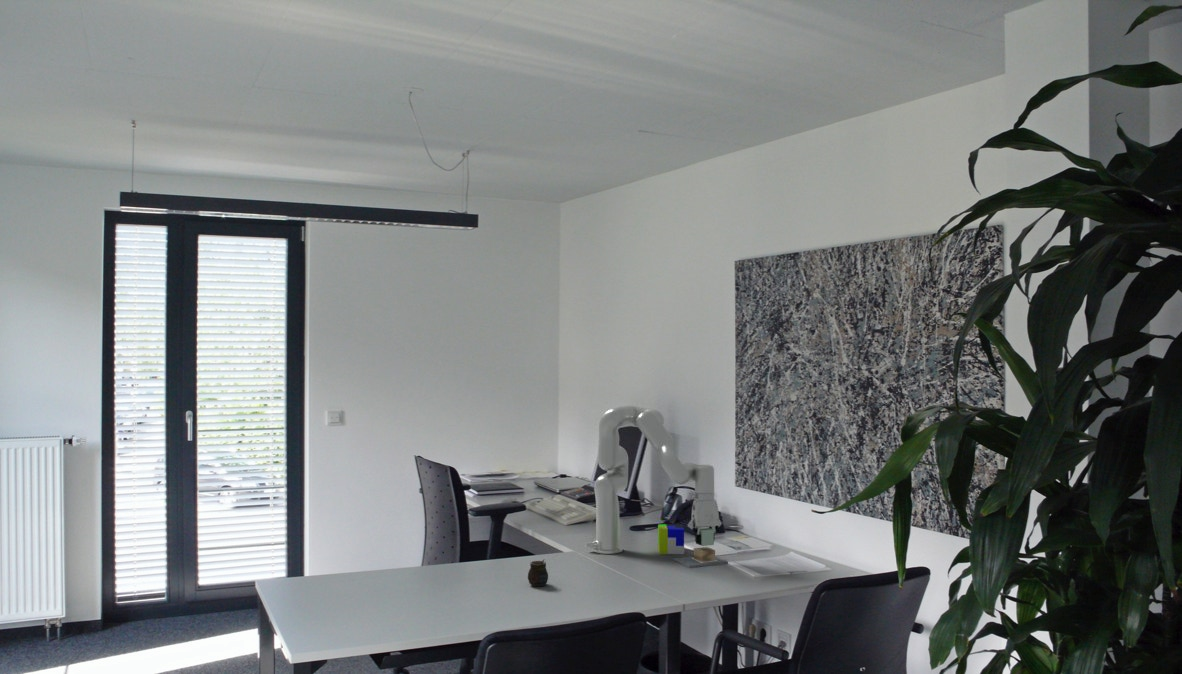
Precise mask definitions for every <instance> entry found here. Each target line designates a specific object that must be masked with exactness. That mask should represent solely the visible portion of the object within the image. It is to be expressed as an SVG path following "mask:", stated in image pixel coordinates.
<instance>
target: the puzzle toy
mask: <svg viewBox="0 0 1182 674" xmlns="http://www.w3.org/2000/svg"><path fill="white" fill-rule="evenodd" d="M657 550H658V553H659V555H684V554H685V528H684V526H683V524H670V523H668V524H667V523H665V524H663V523H662V524H657Z"/></svg>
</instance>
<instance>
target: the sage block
mask: <svg viewBox="0 0 1182 674" xmlns="http://www.w3.org/2000/svg"><path fill="white" fill-rule="evenodd" d="M700 534H701V545H700V546H702V547H709V546H715V540H714V537H715V533H714V529H711V528H709V527H701V531H700Z"/></svg>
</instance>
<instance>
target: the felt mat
mask: <svg viewBox="0 0 1182 674" xmlns="http://www.w3.org/2000/svg"><path fill="white" fill-rule="evenodd" d="M674 561H675V562H677V563H679V564H680V565H683V566H685V567H687V568H689V569H690V568H691V569H692V568H699V567H700V568H702V567H709V566H710V567H711V566H718V565H719V566H720V565H728V564H729V561H728V560H726V559H723V558H721V557H719V556H716V555H715V561H706V562H701V561H699V560H696V559H694V556H687V557H685V556H684V557H679V558H678V557H677V558H674Z"/></svg>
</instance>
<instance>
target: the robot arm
mask: <svg viewBox="0 0 1182 674" xmlns="http://www.w3.org/2000/svg"><path fill="white" fill-rule="evenodd" d="M664 423H665V418H664V415H663V413H661V412H660V411H659V410H657V409H653V408H646V407H645V408H644V407H640V406H635V405H623V406H616V407H613V408H610V409H609V410H606V411H605V412H604V413H603V414H602V415H601V417H600V419H599V423H598V446H597V447H598V448H597V450H598V451H597V452H598V453H597V463H598V466H599V468H600V469H602V470H603V471H606V473H604V474H601V475H599V476H598V477H597V478H596V480H595V481H594V487H593V490H594V496H595V497H594V498H595V512H596V513H595V514H596V515H595V520H596V522H595V523H596V524H595V526H596V527H595V530H596V531H595V538H594V539H593V540H592V541H591V542H590V541H589V542H588V541H586V542H584V546H585V548H592V552H594V553H597V554H602V555H612V554H619V553H622V552H624V547H623V546H621V545H620V503H619V497H618V495H620V494H623V492H624V491H625V490H626V489H627V487H628V483H629V456H628V452H627V450H626V449H625V448H624V447H623V446H621V445H620V434H619V429H620V428H626V427H635V428H638V429H639V431H640V432H641V433H642V434H643V435H644V437H645V438H646V439H647V441H648V442H649V444H651V446H652V448H653V450H655V453H656V456H657V458H658V460H659V463H660V465H661V467H662V469H663V470H664V471H665V473H666V474H667V476H668V477H669V478H670V480H671V481H672V482H674V483H675V484H677V485H681V486H682V485H686V484H689V483H691V482H694V494H692V495H691V498H693V499H694V500H693V502H692V507H691V520H690V521H689V522H688V524H687V528H689V529H690V530H691V531H692V532H693V534H694V535H695V536H694V540H695V544H696V545H699V546H701V534H700V531H701V528H703V527H708V528H711V529H714V534H716V532H717V530H718V529H719V528H720V527H721V525H722V524H723V523H722V521H721V520H720V516H719V507H718V501H717V499H715V468H714V466H713V465H710V464H696V463H693V462H687V463H682V462H681V460H680V459H679V457H678V456H677V455H676V452H675V450H674V437H673V436H672V435H671V434H670V433H669V431H668V430H667V429H666V427H665V426H664ZM694 526H695V527H694ZM714 541H715V536H714Z"/></svg>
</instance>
